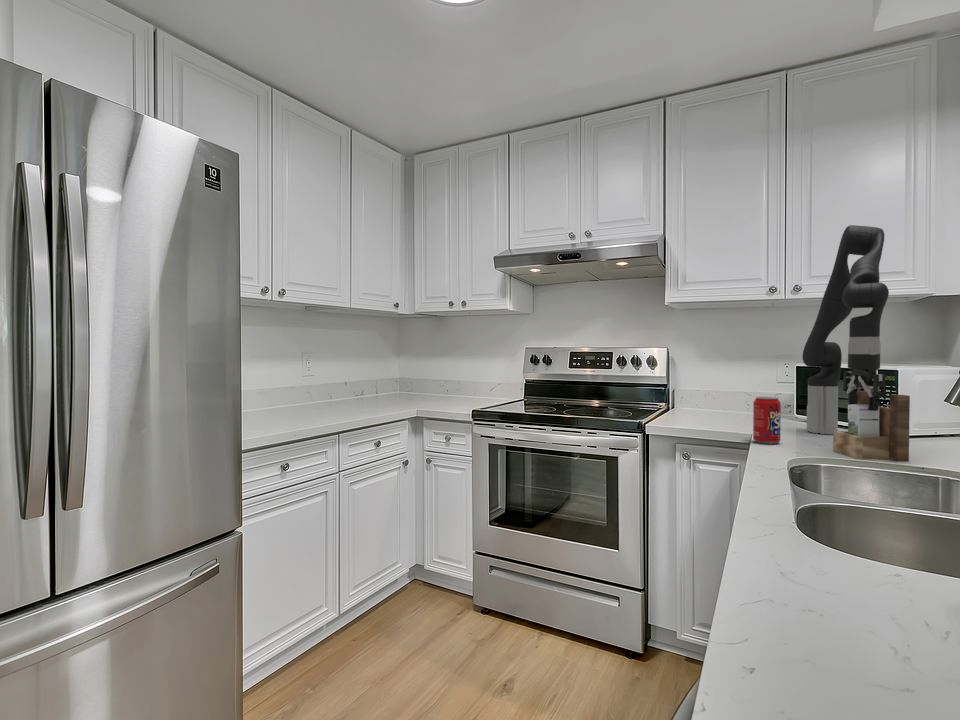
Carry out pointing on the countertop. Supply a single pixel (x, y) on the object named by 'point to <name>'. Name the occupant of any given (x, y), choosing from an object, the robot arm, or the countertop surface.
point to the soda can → (766, 420)
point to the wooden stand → (880, 433)
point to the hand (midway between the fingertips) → (862, 408)
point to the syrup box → (863, 421)
